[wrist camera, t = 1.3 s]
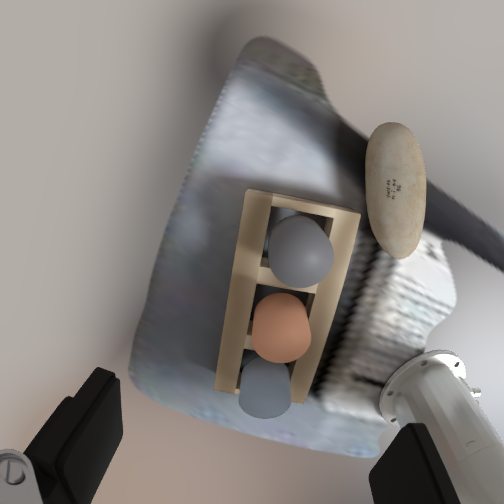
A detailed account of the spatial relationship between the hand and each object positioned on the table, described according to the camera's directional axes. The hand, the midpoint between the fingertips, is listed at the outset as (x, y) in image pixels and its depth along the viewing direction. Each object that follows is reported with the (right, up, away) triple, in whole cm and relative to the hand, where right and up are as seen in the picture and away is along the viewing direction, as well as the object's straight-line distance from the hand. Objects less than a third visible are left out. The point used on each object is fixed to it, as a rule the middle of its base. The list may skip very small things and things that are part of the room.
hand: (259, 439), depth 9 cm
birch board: (+3, +1, +23) cm, 24 cm away
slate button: (+1, -7, +22) cm, 23 cm away
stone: (+13, +12, +20) cm, 27 cm away
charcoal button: (+4, +7, +18) cm, 20 cm away
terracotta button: (+2, 0, +20) cm, 20 cm away
